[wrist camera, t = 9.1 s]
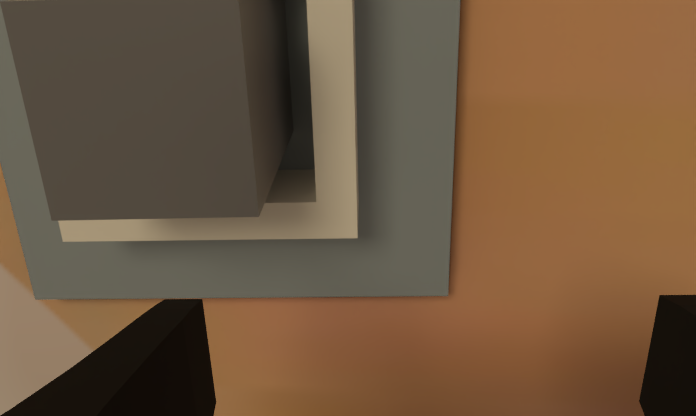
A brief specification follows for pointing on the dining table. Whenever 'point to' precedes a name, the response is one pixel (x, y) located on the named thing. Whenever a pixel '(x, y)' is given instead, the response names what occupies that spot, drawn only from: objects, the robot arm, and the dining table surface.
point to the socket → (287, 177)
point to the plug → (154, 104)
